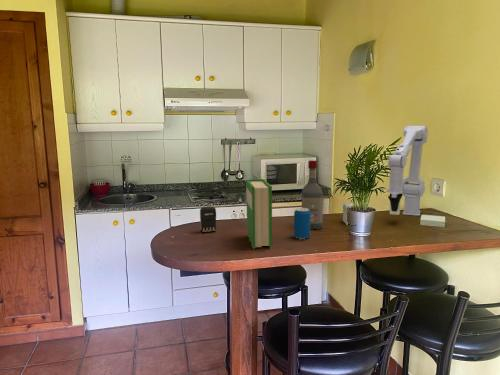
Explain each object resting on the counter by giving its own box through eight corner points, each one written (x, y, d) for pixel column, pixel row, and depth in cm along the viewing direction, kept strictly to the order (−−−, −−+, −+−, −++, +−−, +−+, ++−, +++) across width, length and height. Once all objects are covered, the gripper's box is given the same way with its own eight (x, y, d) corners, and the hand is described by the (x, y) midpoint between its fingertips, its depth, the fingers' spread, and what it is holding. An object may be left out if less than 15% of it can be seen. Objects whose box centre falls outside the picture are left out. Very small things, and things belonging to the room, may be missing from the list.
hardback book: (272, 248, 148) (271, 186, 144) (252, 249, 147) (251, 187, 143) (264, 235, 165) (263, 179, 161) (247, 236, 164) (246, 179, 160)
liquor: (322, 230, 171) (323, 162, 166) (301, 229, 172) (302, 162, 167) (321, 224, 180) (322, 159, 175) (301, 224, 181) (301, 159, 176)
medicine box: (356, 225, 178) (356, 206, 176) (346, 225, 178) (346, 207, 176) (351, 221, 186) (352, 203, 184) (342, 221, 186) (342, 203, 184)
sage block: (421, 219, 186) (421, 214, 185) (444, 221, 181) (445, 216, 181) (420, 224, 177) (420, 219, 176) (444, 227, 172) (445, 221, 172)
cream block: (390, 211, 182) (391, 201, 182) (399, 212, 181) (400, 202, 180) (389, 213, 179) (390, 203, 178) (398, 214, 177) (399, 203, 176)
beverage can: (310, 235, 163) (311, 207, 161) (308, 240, 157) (309, 211, 155) (295, 234, 165) (295, 207, 163) (292, 239, 159) (293, 210, 156)
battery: (201, 233, 168) (200, 208, 166) (200, 231, 172) (199, 206, 170) (217, 232, 170) (216, 207, 168) (216, 230, 173) (215, 205, 172)
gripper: (388, 178, 185) (387, 206, 188) (385, 183, 172) (383, 212, 175) (404, 179, 182) (403, 207, 185) (402, 183, 169) (400, 214, 172)
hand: (394, 210), depth 180 cm, fingers closed on cream block, 4 cm apart
